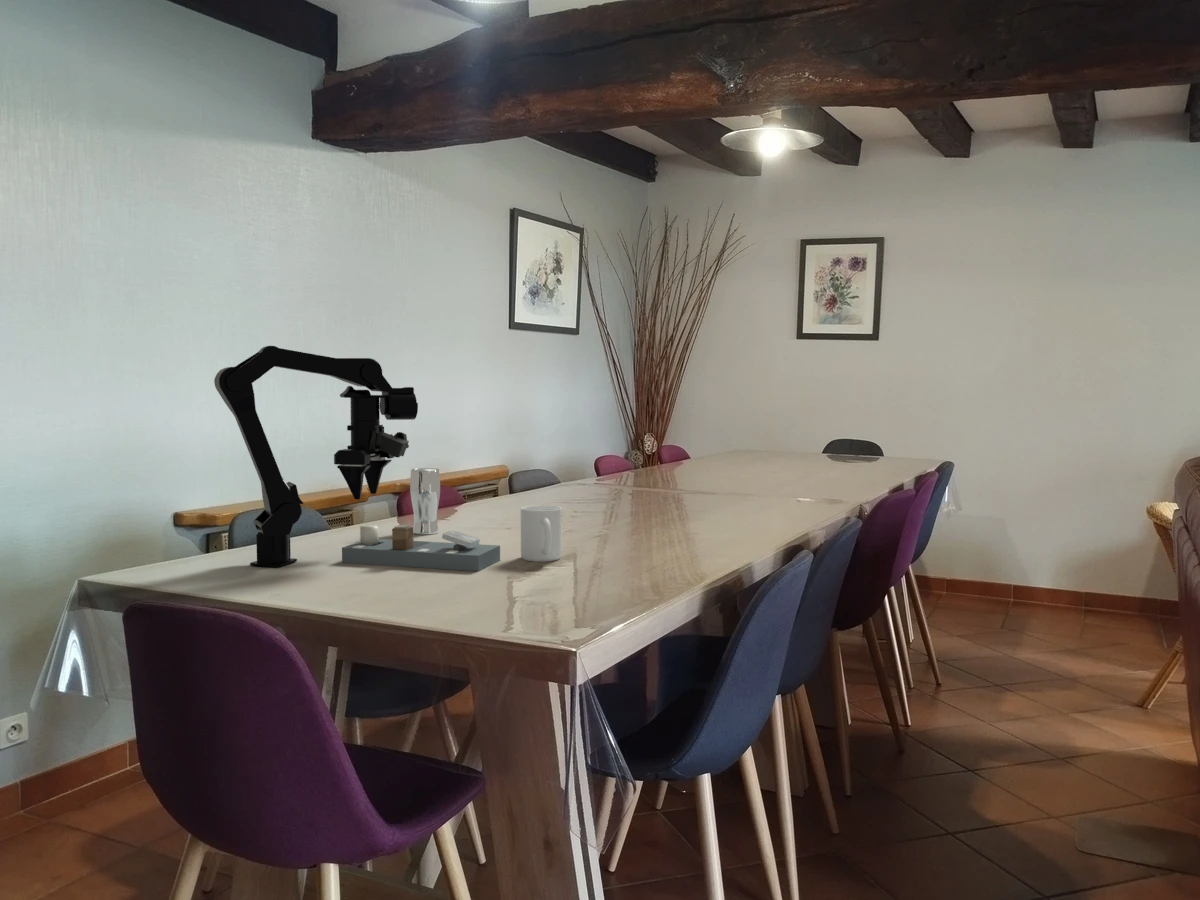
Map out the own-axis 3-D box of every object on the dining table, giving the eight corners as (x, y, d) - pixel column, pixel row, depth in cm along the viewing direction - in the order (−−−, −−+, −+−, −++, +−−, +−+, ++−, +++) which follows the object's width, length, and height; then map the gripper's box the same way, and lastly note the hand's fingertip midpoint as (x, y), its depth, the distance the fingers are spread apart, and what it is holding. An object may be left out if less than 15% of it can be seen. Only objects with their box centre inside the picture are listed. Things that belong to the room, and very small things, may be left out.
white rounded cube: (373, 547, 184) (372, 528, 183) (357, 546, 184) (356, 527, 184) (382, 543, 187) (381, 525, 187) (366, 543, 188) (365, 524, 188)
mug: (568, 565, 180) (568, 512, 180) (526, 566, 178) (526, 514, 178) (557, 553, 192) (557, 504, 191) (518, 555, 190) (517, 505, 189)
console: (478, 571, 174) (478, 549, 173) (342, 562, 181) (341, 542, 181) (500, 560, 184) (500, 540, 184) (370, 552, 192) (369, 533, 192)
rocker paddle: (469, 547, 177) (470, 543, 177) (441, 538, 179) (442, 533, 179) (478, 543, 182) (479, 539, 182) (451, 534, 183) (452, 529, 183)
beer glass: (437, 535, 213) (436, 471, 212) (407, 535, 214) (406, 470, 212) (443, 530, 220) (442, 468, 219) (414, 530, 221) (413, 468, 219)
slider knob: (406, 549, 179) (406, 527, 178) (392, 548, 179) (392, 526, 179) (413, 547, 181) (413, 525, 181) (399, 546, 182) (399, 524, 182)
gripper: (388, 422, 177) (388, 503, 178) (417, 419, 195) (417, 492, 196) (332, 421, 178) (333, 502, 179) (366, 418, 196) (367, 490, 198)
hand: (365, 496), depth 188 cm, fingers open, 9 cm apart
